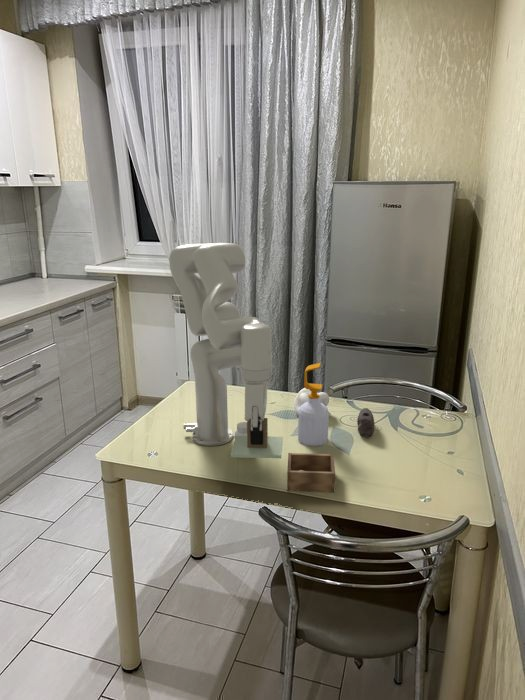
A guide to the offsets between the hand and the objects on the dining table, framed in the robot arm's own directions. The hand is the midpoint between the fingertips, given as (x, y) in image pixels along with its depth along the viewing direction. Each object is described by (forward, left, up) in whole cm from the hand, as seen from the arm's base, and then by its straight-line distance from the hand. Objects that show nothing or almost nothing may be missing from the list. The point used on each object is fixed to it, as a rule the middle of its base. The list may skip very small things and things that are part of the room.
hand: (257, 440), depth 136 cm
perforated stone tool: (+32, +33, -12) cm, 48 cm away
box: (+14, 0, -12) cm, 18 cm away
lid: (0, 0, -2) cm, 2 cm away
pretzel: (+14, +44, -12) cm, 48 cm away
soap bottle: (+15, +25, -12) cm, 32 cm away
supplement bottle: (-5, +14, -12) cm, 20 cm away
